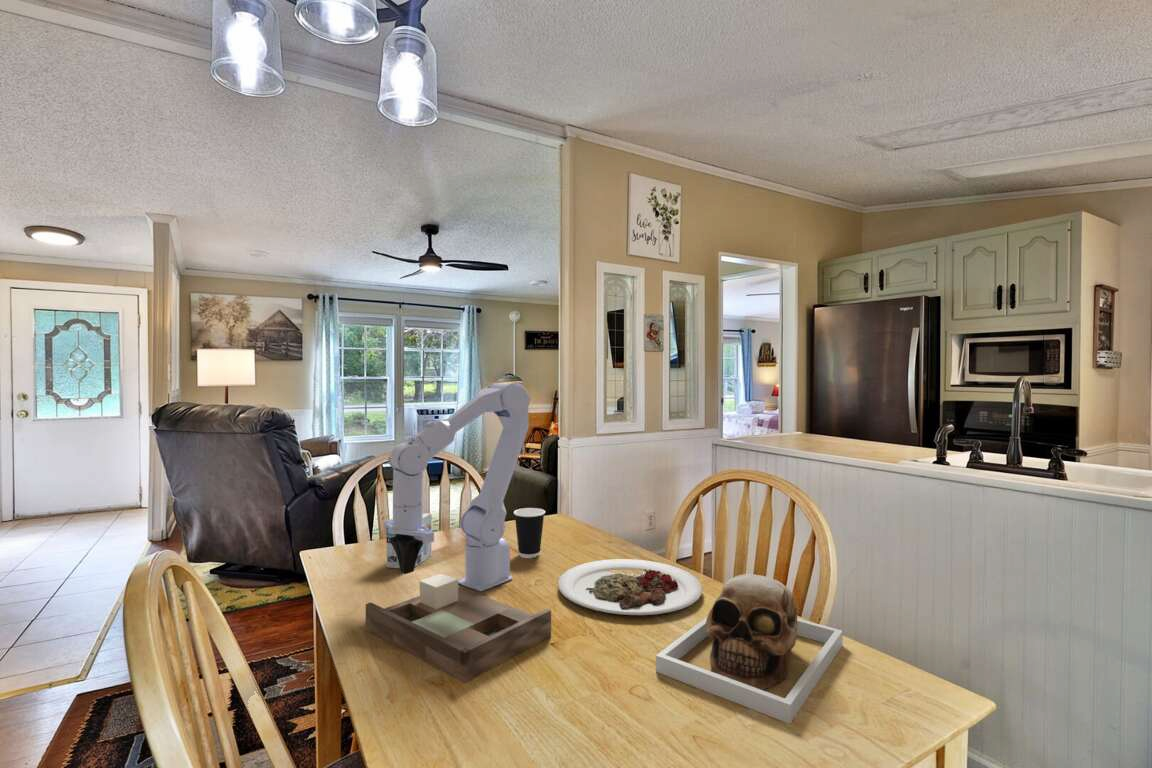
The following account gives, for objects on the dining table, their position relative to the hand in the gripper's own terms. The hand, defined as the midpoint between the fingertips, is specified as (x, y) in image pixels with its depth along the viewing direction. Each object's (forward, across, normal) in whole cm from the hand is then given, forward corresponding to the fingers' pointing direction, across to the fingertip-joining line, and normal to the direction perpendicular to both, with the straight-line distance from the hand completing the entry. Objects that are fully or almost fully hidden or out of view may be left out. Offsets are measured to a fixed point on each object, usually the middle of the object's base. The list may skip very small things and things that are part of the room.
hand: (407, 572), depth 110 cm
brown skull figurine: (+6, +62, +21) cm, 66 cm away
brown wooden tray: (+6, +18, -2) cm, 20 cm away
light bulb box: (+6, -20, +14) cm, 25 cm away
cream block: (+3, +10, 0) cm, 11 cm away
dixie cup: (+6, -1, +36) cm, 37 cm away
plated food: (+6, +31, +33) cm, 46 cm away
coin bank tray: (+6, +62, +22) cm, 66 cm away
